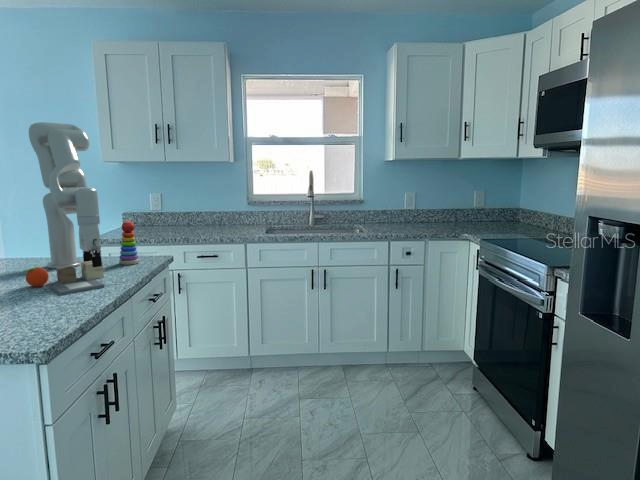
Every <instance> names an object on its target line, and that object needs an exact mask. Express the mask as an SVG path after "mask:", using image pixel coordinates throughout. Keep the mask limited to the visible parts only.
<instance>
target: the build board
mask: <svg viewBox="0 0 640 480" xmlns="http://www.w3.org/2000/svg"><path fill="white" fill-rule="evenodd" d="M101 288H105V284H104V283H102V282H100V281H98V280H97V279H91V280H83V281H77V282H70V283H64V284H58V285H53V286H51V290H52V291H54V292H55V293H57V294H58V295H60V296H64V295H70V294H74V293H75V294H76V293H80V292H86V291H92V290H97V289H101Z"/></svg>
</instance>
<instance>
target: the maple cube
mask: <svg viewBox="0 0 640 480" xmlns="http://www.w3.org/2000/svg"><path fill="white" fill-rule="evenodd" d="M103 263H104V262H103V261H102V266H100V267H93V266H92V261H86V262H84V261H81V264H80V269H81V278H82V277H83V278H82V279H84V280H85V281H88V280H94V279H95V280H97V279H102V278H104V277H105V275H104V264H103Z"/></svg>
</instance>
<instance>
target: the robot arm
mask: <svg viewBox="0 0 640 480" xmlns="http://www.w3.org/2000/svg"><path fill="white" fill-rule="evenodd" d="M28 139H29V141H30V145H31V147H32V149H33V151H34V152H35V155H36V157H37V161H38V165H39V169H40V175H41V178H42V179H41V180H42V182H43V183H42V184H43V185H44V187H45V188H46V189H49V191H50V192H48V193H46V194H44V196H43V197H42V205H43V209H44V212H45V217H46V224H47V231H48V232H47V233H48V243H49V244H48V245H49V254H50V262H49V263H47V265H46V267H47V268H49V269H55V270H57V268H64V267H73V268H76V267H79V266H81V262H82V261H81V260H78V259H77V250H76V237H75V236H76V235H75V226H74V223H73V221H72V220H71V219H70V218H69V217H68V216H67V215H73V214H76V220H77V222H76V223H77V226H79V227H78V240H79V241H78V242H79V243H78V244H79V250H81V251H82V258H83V262H86V261H92V266H93V267H100V266H102V262H103V261H102V253H101V252H102V251H101V248H102V246H101V245H102V244H101V243H102V242H101V235H100V233H101V232H100V229H99V225H100V224H101V220H100V210H99V199H98V198H99V197H98V190H97V189H95V188H94V187H88V184H87V180H86V175H85V173H84V171H83V170H82V169H81V168H79V167H80V165H81V161H80V159H79V156H78V152H86V151H88V149H89V147H90V141H89V137H88V135H87V133H86V132H85V131H84V130H83V129H82V128H80V127H78V126H77V125H74V124H69V123H57V122H34V123H32V124H30V125H29V128H28Z"/></svg>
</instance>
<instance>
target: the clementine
mask: <svg viewBox="0 0 640 480" xmlns="http://www.w3.org/2000/svg"><path fill="white" fill-rule="evenodd" d="M24 276H25V282H26V283H27V284H28V285H30V286H32V287H34V288H35V287H37V288H38V287H42V286H43V285H45V284H46V283H47V281H48V280H49V273H48V271H47V270H46V269H45V268H44V267H39V266H35V267H31V268H29V269H27V270H25V272H24V273H23V276H22V277H24Z"/></svg>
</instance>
